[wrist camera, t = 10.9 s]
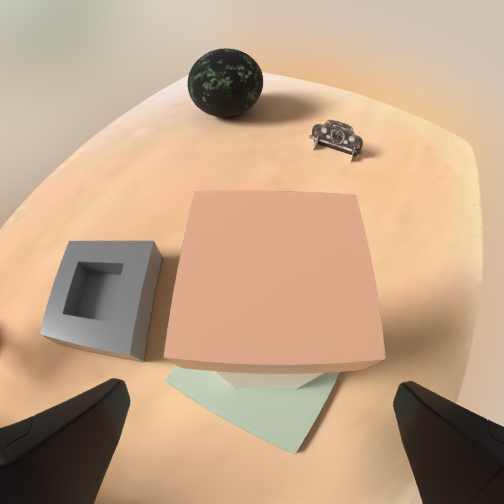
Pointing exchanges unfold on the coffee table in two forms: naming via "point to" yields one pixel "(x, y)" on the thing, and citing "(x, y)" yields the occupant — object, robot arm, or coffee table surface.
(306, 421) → the pad
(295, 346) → the plug
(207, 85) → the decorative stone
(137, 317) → the grey square base
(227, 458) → the coffee table surface
